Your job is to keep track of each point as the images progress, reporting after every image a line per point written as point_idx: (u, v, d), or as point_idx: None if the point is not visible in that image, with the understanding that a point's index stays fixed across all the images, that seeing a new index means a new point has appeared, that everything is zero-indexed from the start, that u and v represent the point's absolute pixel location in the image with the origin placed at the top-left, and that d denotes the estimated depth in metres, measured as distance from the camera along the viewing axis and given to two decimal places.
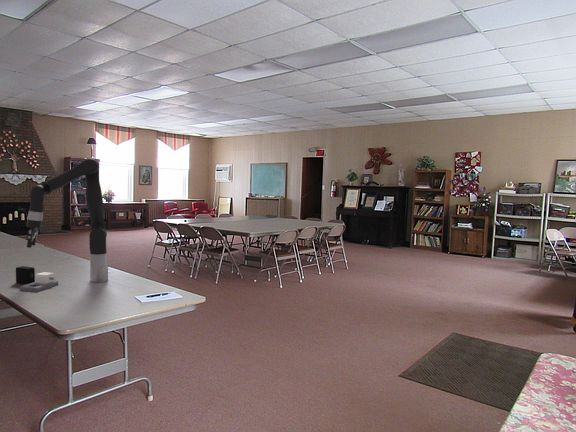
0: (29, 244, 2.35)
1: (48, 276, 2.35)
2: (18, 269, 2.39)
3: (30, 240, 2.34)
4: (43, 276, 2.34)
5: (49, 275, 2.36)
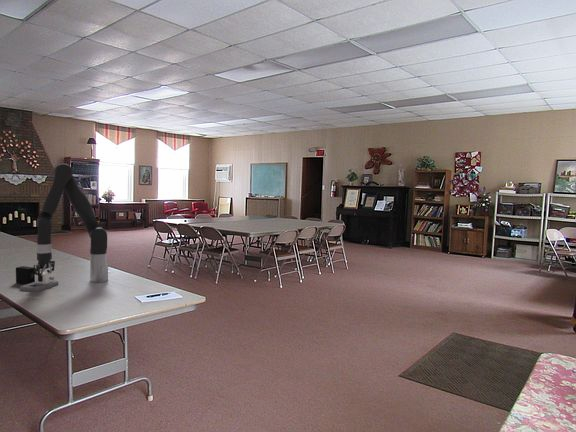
0: (39, 278, 2.33)
1: (48, 276, 2.35)
2: (18, 269, 2.39)
3: (38, 274, 2.31)
4: (43, 276, 2.34)
5: (49, 275, 2.36)
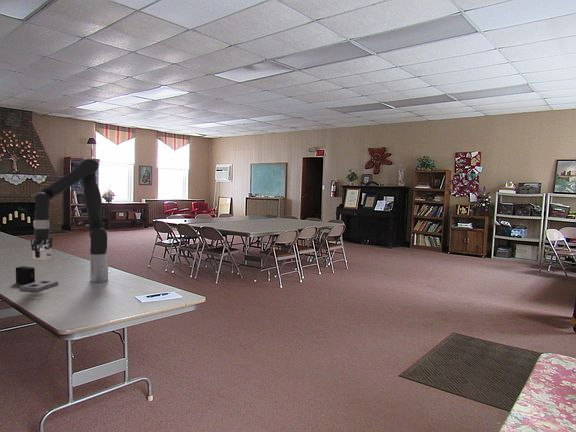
0: (36, 254, 2.30)
1: (45, 252, 2.33)
2: (18, 269, 2.39)
3: (35, 250, 2.29)
4: (40, 252, 2.31)
5: (46, 251, 2.33)
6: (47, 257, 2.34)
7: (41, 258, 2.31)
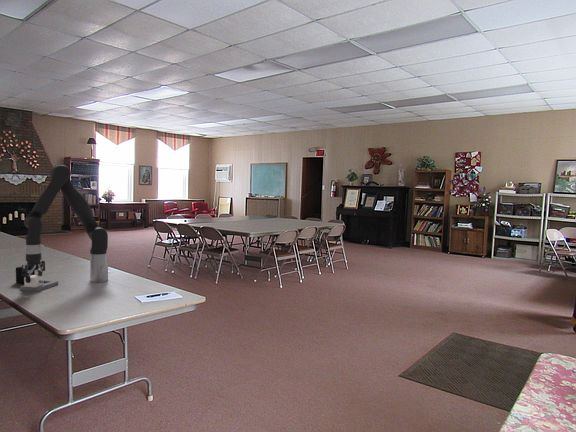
0: (26, 279, 2.24)
1: (37, 279, 2.27)
2: (18, 269, 2.39)
3: (25, 275, 2.22)
4: (32, 279, 2.26)
5: (38, 278, 2.28)
6: (39, 284, 2.29)
7: (33, 285, 2.26)
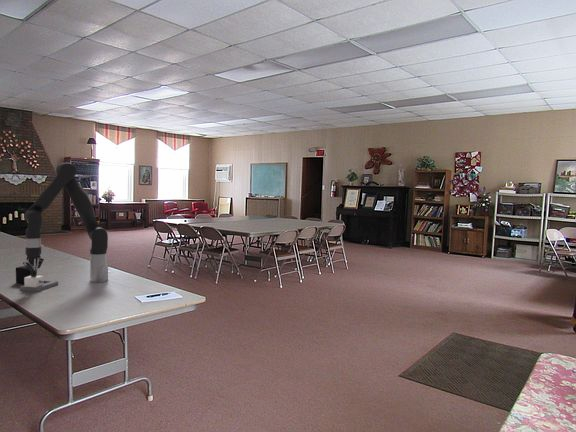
0: (32, 273, 2.28)
1: (37, 279, 2.27)
2: (18, 269, 2.39)
3: (30, 269, 2.26)
4: (32, 279, 2.26)
5: (38, 278, 2.28)
6: (39, 284, 2.29)
7: (33, 285, 2.26)
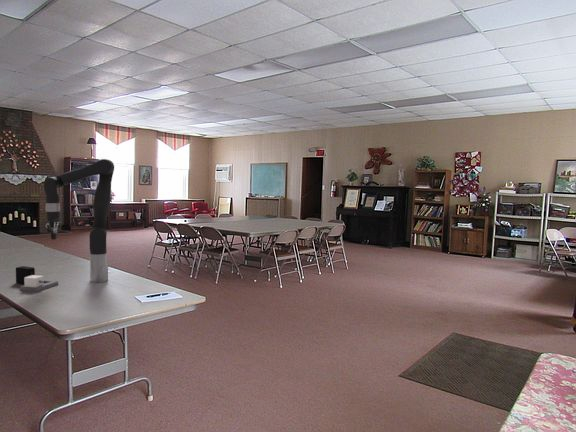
0: (52, 236, 2.46)
1: (37, 279, 2.27)
2: (18, 269, 2.39)
3: (51, 232, 2.44)
4: (32, 279, 2.26)
5: (38, 278, 2.28)
6: (39, 284, 2.29)
7: (33, 285, 2.26)
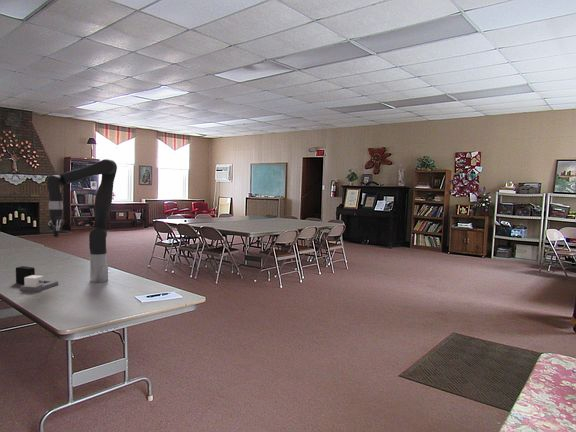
0: (54, 233, 2.48)
1: (37, 279, 2.27)
2: (18, 269, 2.39)
3: (53, 229, 2.46)
4: (32, 279, 2.26)
5: (38, 278, 2.28)
6: (39, 284, 2.29)
7: (33, 285, 2.26)
